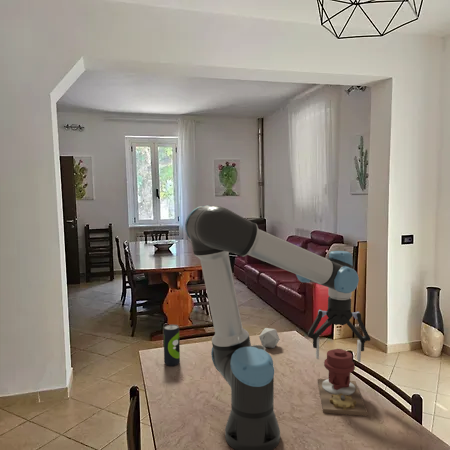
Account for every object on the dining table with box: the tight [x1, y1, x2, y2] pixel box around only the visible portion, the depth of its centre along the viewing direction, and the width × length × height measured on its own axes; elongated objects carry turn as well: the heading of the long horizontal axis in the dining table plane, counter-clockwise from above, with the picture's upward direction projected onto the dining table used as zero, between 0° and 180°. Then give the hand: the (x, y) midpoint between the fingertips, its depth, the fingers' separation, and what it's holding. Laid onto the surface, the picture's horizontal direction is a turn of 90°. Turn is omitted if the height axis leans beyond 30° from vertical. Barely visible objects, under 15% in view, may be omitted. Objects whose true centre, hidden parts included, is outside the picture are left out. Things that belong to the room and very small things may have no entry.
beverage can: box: [163, 324, 181, 367], centre depth 154 cm, size 6×6×15 cm
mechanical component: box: [323, 348, 356, 390], centre depth 131 cm, size 12×10×10 cm
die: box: [258, 327, 281, 349], centre depth 171 cm, size 8×9×10 cm
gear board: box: [317, 378, 368, 417], centre depth 127 cm, size 20×13×3 cm, turn 171°
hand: (337, 358), depth 131 cm, fingers open, 13 cm apart
